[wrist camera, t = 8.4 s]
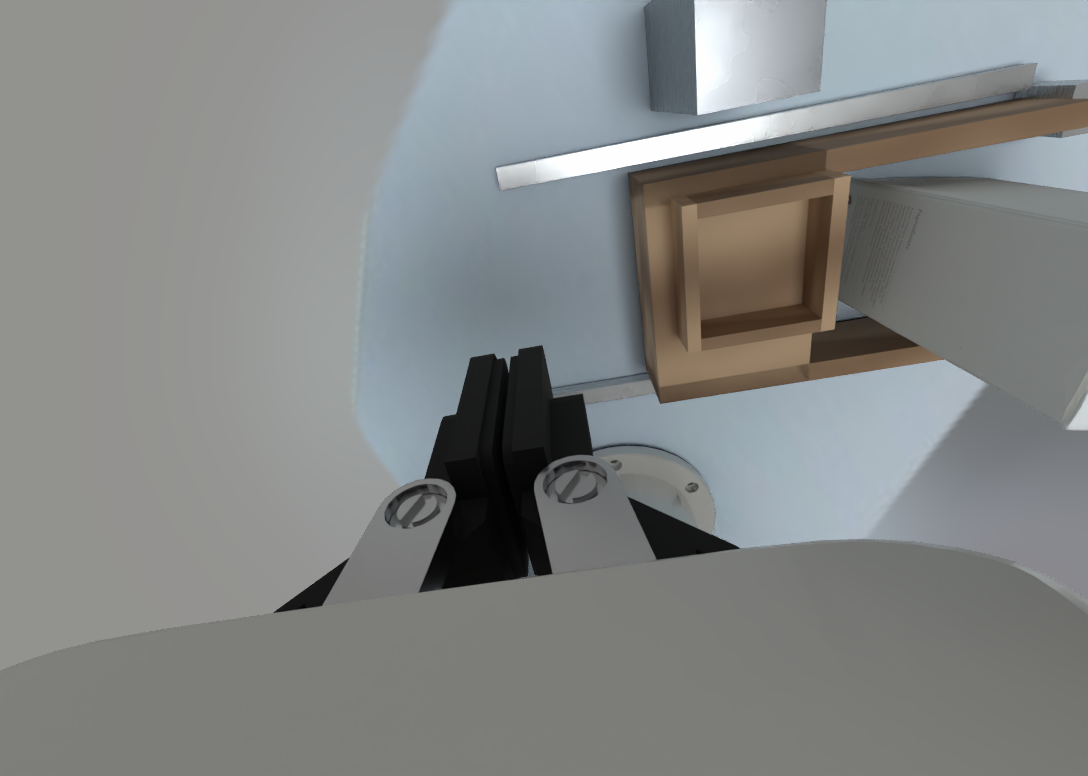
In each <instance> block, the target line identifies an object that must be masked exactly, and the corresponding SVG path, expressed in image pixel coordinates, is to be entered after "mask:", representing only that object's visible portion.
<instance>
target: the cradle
mask: <svg viewBox="0 0 1088 776" xmlns="http://www.w3.org/2000/svg"><path fill="white" fill-rule="evenodd" d="M1085 127H1088V99H1014V100H1008V101H1003V102H998V103H993V104H987V105H982V106H977V107H972V108H966V109H961V110H956V111H951V112H945V113H940V114H935V115H930V116H924V117H919V118H914V119H909V120H903V121H898V122H893V123H888V124H883V125H877V126H872V127H867V128H862V129H856V130H851V131H846V132H841V133H835V134H830V135H825V136H820V137H814V138H809V139H804V140H799V141H793V142H788V143H783V144H778V145H772V146H767V147H762V148H757V149H752V150H746V151H741V152H736V153H731V154H725V155H720V156H715V157H710V158H704V159H699V160H694V161H689V162H683V163H678V164H673V165H668V166H662V167H657V168H652V169H647V170H641V171H636V172H631V173H628V174H629V185H630V196H631V207H632V218H633V229H634V240H635V251H636V262H637V273H638V284H639V295H640V306H641V317H642V328H643V339H644V350H645V361H646V370H647V372H648V375H649V377H650V380H651V382H652V384H653V387H654V389H655V392H656V394H657V397H658V399H659V402H660V404H662V403H669V402H675V401H681V400H688V399H694V398H701V397H707V396H713V395H720V394H726V393H733V392H739V391H745V390H752V389H758V388H765V387H771V386H777V385H784V384H790V383H797V382H803V381H809V380H816V379H822V378H829V377H835V376H841V375H848V374H854V373H861V372H867V371H873V370H880V369H886V368H893V367H899V366H905V365H912V364H918V363H925V362H931V361H937V360H944V359H943V358H941V357H939V356H938V355H936V354H934V353H932V352H930V351H929V350H927V349H925V348H923V347H921V346H920V345H918V344H916V343H914V342H913V341H911V340H909V339H907V338H905V337H904V336H902V335H900V334H898V333H896V332H894V331H893V330H891V329H889V328H887V327H886V326H884V325H882V324H880V323H879V322H877V321H875V320H874V319H872V318H870V317H869V318H862V319H856V320H850V321H844V322H838V323H835V321H836V312H837V302H838V293H839V283H840V274H841V265H842V255H843V246H844V236H845V227H846V217H847V208H848V198H849V189H850V180H851V175H847V174H843V173H842V172H847V171H853V170H858V169H864V168H869V167H874V166H880V165H885V164H891V163H896V162H901V161H907V160H912V159H918V158H923V157H928V156H934V155H939V154H945V153H950V152H955V151H961V150H966V149H972V148H977V147H982V146H988V145H993V144H999V143H1004V142H1009V141H1015V140H1020V139H1026V138H1031V137H1036V136H1042V135H1047V134H1053V133H1058V132H1063V131H1069V130H1074V129H1080V128H1085Z"/></svg>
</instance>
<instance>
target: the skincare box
mask: <svg viewBox="0 0 1088 776" xmlns="http://www.w3.org/2000/svg"><path fill="white" fill-rule="evenodd" d="M838 300H840V301H842V302H843V303H845V304H847V305H849V306H851V307H852V308H854V309H856V310H858V311H860V312H861V313H863V314H865V315H867V316H868V317H870V318H872V319H874V320H875V321H877V322H879V323H880V324H882V325H884V326H886V327H887V328H889V329H891V330H893V331H894V332H896V333H898V334H900V335H902V336H904V337H905V338H907V339H909V340H911V341H913V342H914V343H916V344H918V345H920V346H921V347H923V348H925V349H927V350H929V351H930V352H932V353H934V354H936V355H938V356H939V357H941V358H943V359H945V360H946V361H948V362H950V363H952V364H954V365H955V366H957V367H959V368H961V369H963V370H964V371H966V372H968V373H970V374H972V375H973V376H975V377H977V378H979V379H980V380H982V381H984V382H986V383H988V384H989V385H991V386H993V387H995V388H996V389H998V390H1000V391H1002V392H1003V393H1005V394H1007V395H1009V396H1010V397H1012V398H1014V399H1016V400H1017V401H1019V402H1021V403H1023V404H1024V405H1027V406H1028V407H1030V408H1031V409H1033V410H1035V411H1037V412H1039V413H1040V414H1042V415H1044V416H1046V417H1048V418H1049V419H1051V420H1053V421H1054V422H1056V423H1058V424H1059V425H1061V426H1062V427H1063V428H1064V429H1066V430H1088V192H1082V191H1075V190H1068V189H1061V188H1053V187H1046V186H1039V185H1032V184H1025V183H1017V182H1010V181H1003V180H996V179H990V178H970V177H925V178H884V179H861V178H851V180H850V189H849V198H848V208H847V217H846V227H845V236H844V246H843V255H842V265H841V274H840V283H839V293H838Z"/></svg>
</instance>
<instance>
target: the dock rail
mask: <svg viewBox="0 0 1088 776" xmlns="http://www.w3.org/2000/svg"><path fill="white" fill-rule="evenodd" d="M1036 66H1037V63H1029V64H1020V65H1015V66H1009V67H1004V68H999V69H994V70H989V71H984V72H979V73H974V74H969V75H963V76H958V77H953V78H948V79H943V80H938V81H933V82H928V83H923V84H917V85H912V86H907V87H902V88H897V89H892V90H887V91H882V92H876V93H871V94H866V95H861V96H856V97H851V98H846V99H841V100H836V101H830V102H825V103H820V104H815V105H810V106H805V107H800V108H795V109H790V110H784V111H779V112H774V113H769V114H764V115H759V116H754V117H749V118H743V119H738V120H733V121H728V122H723V123H718V124H713V125H708V126H703V127H697V128H692V129H687V130H682V131H677V132H672V133H667V134H662V135H657V136H651V137H646V138H641V139H636V140H631V141H626V142H621V143H616V144H611V145H605V146H600V147H595V148H590V149H585V150H580V151H575V152H570V153H564V154H559V155H554V156H549V157H544V158H539V159H534V160H529V161H524V162H518V163H513V164H508V165H503V166H498V167H497V168H496V171H497V176H498V181H499V186H500V190H505V189H511V188H516V187H521V186H526V185H531V184H537V183H542V182H547V181H552V180H558V179H563V178H568V177H573V176H578V175H584V174H589V173H594V172H599V171H604V170H610V169H615V168H620V167H625V166H630V165H636V164H641V163H646V162H651V161H657V160H662V159H667V158H672V157H677V156H683V155H688V154H693V153H698V152H703V151H709V150H714V149H719V148H724V147H730V146H735V145H740V144H745V143H750V142H756V141H761V140H766V139H771V138H776V137H782V136H787V135H792V134H797V133H802V132H808V131H813V130H818V129H823V128H829V127H834V126H839V125H844V124H849V123H855V122H860V121H865V120H870V119H875V118H881V117H886V116H891V115H896V114H902V113H907V112H912V111H917V110H922V109H928V108H933V107H938V106H943V105H948V104H954V103H959V102H964V101H969V100H974V99H980V98H985V97H990V96H995V95H1001V94H1006V93H1011V92H1016V94H1015V98H1014V99H1088V80H1065V81H1043V82H1038V83H1033V84H1032V82H1033V78H1034V74H1035V70H1036ZM1085 133H1088V127H1085V128H1080V129H1074V130H1069V131H1063V132H1058V133H1053V134H1047V135H1042V136H1043V137H1056V138H1063V137H1069V136H1074V135H1080V134H1085ZM552 393H553V398H558V397H564V396H570V395H576V394H582V393H583V397H584V402H585V404H591V403H598V402H604V401H610V400H617V399H623V398H629V397H636V396H642V395H648V394H655V393H656V392H655V389H654V387H653V384H652V382H651V380H650V377H649V375H648V373H646V374H640V375H633V376H627V377H621V378H615V379H609V380H602V381H596V382H590V383H584V384H578V385H571V386H565V387H559V388H553V389H552Z"/></svg>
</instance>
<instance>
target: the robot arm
mask: <svg viewBox="0 0 1088 776" xmlns="http://www.w3.org/2000/svg"><path fill="white" fill-rule="evenodd" d="M715 516H716V513H715V506H714V501H713V498H712V496H711V493H710V491H709V489H708V486H707V485H706V483H705V481H704V480H703V478H702V477H701V475H700V474H699V473H698V472H697V471H696V470H695V469H694V468H693V467H692V466H691V465H690V464H688V463H687V462H685V461H684V460H682V459H680V458H679V457H677V456H675V455H672V454H670V453H667V452H665V451H662V450H658V449H653V448H649V447H642V446H620V447H611V448H605V449H601V450H598V451H594V452H593V450H592V444H591V438H590V432H589V426H588V420H587V414H586V408H585V402H584V397H583V393H582V394H576V395H570V396H564V397H558V398H553V393H552V388H551V383H550V378H549V374H548V369H547V364H546V359H545V354H544V350H543V346H542V345H541V346H535V347H529V348H524V349H519V352H518V356H514V357H511V360H510V370H509V372H508V368H507V364H506V361H505V359H504V358H502V359H497V358H496V356H495V354H489V355H484V356H478V357H472V358H471V359H470V362H469V366H468V370H467V374H466V378H465V382H464V386H463V390H462V394H461V398H460V402H459V405H458V409H457V413H456V415H450V416H445V417H443V419H442V421H441V425H440V428H439V431H438V435H437V438H436V442H435V445H434V448H433V452H432V455H431V459H430V462H429V465H428V469H427V472H426V476H425V479H422V480H417V481H414V482H411V483H409V484H406V485H404V486H402V487H400V488H399V489H397V490H395V491H394V492H393V493H392V494H391V495H389V496H388V497H387V498H386V499H385V500H384V501H383V502H382V504H381V505H380V506H379V508H378V510H377V511H376V513H375V515H374V517H373V518H372V520H371V522H370V524H369V525H368V527H367V529H366V530H365V532H364V534H363V536H362V537H361V539H360V541H359V543H358V544H357V546H356V548H355V550H354V551H353V553H352V555H351V557H350V558H348V559H347V560H345V561H344V562H343V563H341V564H340V565H338V566H337V567H336V568H334V569H333V570H332V571H330V572H329V573H327V574H326V575H325V576H323V577H322V578H320V579H319V580H318V581H316V582H315V583H314V584H312V585H311V586H309V587H308V588H307V589H305V590H304V591H303V592H301V593H300V594H298V595H297V596H295V597H294V598H293V599H291V600H290V601H289V602H287V603H286V604H284V605H283V606H282V607H280V608H279V609H277V610H276V611H275V612H274V613H271V614H264V615H257V616H250V617H244V618H237V619H230V620H223V621H216V622H209V623H202V624H195V625H188V626H181V627H174V628H167V629H161V630H156V631H150V632H145V633H139V634H133V635H128V636H123V637H116V638H111V639H106V640H100V641H95V642H90V643H87V644H83V645H78V646H75V647H70V648H66V649H62V650H58V651H54V652H52V653H49V654H45V655H43V656H39V657H36V658H33V659H30V660H27V661H25V662H22V663H19V664H16V665H13V666H11V667H9V668H6V669H4V670H1V671H0V776H1088V599H1087V598H1086V597H1084V596H1082V595H1081V594H1079V593H1077V592H1076V591H1074V590H1072V589H1071V588H1069V587H1068V586H1066V585H1064V584H1062V583H1060V582H1059V581H1057V580H1055V579H1053V578H1051V577H1049V576H1047V575H1045V574H1044V573H1042V572H1039V571H1037V570H1035V569H1032V568H1029V567H1027V566H1024V565H1022V564H1019V563H1017V562H1014V561H1011V560H1007V559H1004V558H1000V557H996V556H993V555H989V554H985V553H980V552H976V551H972V550H967V549H963V548H957V547H949V546H942V545H935V544H928V543H922V542H914V541H900V540H879V539H846V540H820V541H811V542H801V543H791V544H782V545H772V546H762V547H753V548H743V549H740V548H739V547H737V546H735V545H733V544H731V543H729V542H727V541H724V540H722V539H720V538H718V537H716V536H713V535H712V532H713V530H714V526H715ZM529 557H530V560H531V564H532V567H533V571H534V574H535V575H538V576H535V577H528V578H521V577H527V576H528V559H529ZM519 578H521V579H519Z"/></svg>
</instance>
